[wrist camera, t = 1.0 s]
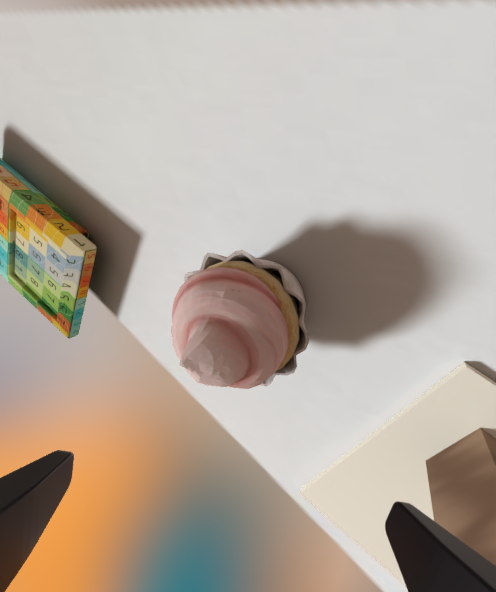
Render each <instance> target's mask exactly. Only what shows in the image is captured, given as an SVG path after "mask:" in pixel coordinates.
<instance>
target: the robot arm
mask: <svg viewBox="0 0 496 592" xmlns="http://www.w3.org/2000/svg"><path fill="white" fill-rule="evenodd" d="M73 460H74V455H73V453H72V452H67V451H61V450H57V451H54V452H52V453H50V454H48V455H46V456H44V457H42V458H40V459H38V460H36V461H34V462H32V463H30V464H28V465H26V466H24V467H22V468H20V469H18V470H16V471H14V472H12V473H9V474H7V475H6V476H3V477H2V478H0V592H5V590H6V589H7V587H8V586H9V585H10V583H11V582H12V580H13V579H14V577H15V576H16V574H17V573H18V571H19V570H20V569H21V567H22V566H23V564H24V563H25V561H26V560H27V558H28V556H29V555H30V553H31V552H32V550H33V548H34V547H35V545H36V543H37V542H38V540H39V538H40V536H41V535H42V533H43V531H44V529H45V528H46V526H47V524H48V522H49V521H50V518H51V517H52V515H53V514H54V512H55V510H56V508H57V507H58V505H59V503H60V501H61V500H62V498H63V496H64V494H65V493H66V491H67V489H68V487H69V484H70V482H71V478H72V470H73ZM385 530H386V534H387V537H388V540H389V542H390V545H391V548H392V550H393V553H394V556H395V558H396V561H397V563H398V566H399V569H400V571H401V574H402V576H403V579H404V582H405V584H406V587H407V589H408V592H496V566H495V565H494V564H492V563H491V562H490V561H488V560H487V559H486V558H484V557H483V556H481V555H480V554H479V553H477V552H476V551H475V550H473V549H472V548H470V547H469V546H468V545H466V544H465V543H464V542H462V541H461V540H460V539H458V538H457V537H455V536H454V535H453V534H451V533H450V532H449V531H447V530H446V529H444V528H443V527H442V526H440V525H439V524H438V523H436V522H435V521H434V520H432V519H431V518H429V517H428V516H427V515H425V514H424V513H423V512H421V511H420V510H418V509H417V508H416V507H414V506H413V505H411V504H410V503H406V502H400V501H396V502H395V503H394V504H393V506H392V508H391V510H390V512H389V515H388V517H387V519H386V522H385Z"/></svg>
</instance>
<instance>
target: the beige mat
mask: <svg viewBox="0 0 496 592" xmlns="http://www.w3.org/2000/svg"><path fill="white" fill-rule="evenodd" d="M479 428H482V429H483V430H484V431H486V432H487V433H489V434H490V435H492V436H493V437H494V438H496V382H494V381H493V380H491V379H490V378H488V377H487V376H485V375H484V374H482V373H481V372H479V371H478V370H476V369H475V368H473V367H472V366H470V365H469V364H467V363H466V362H463V363H462V364H461V365H459V366H458V367H457V368H455V369H454V370H453V371H452V372H450V373H449V374H448V375H446V376H445V377H444V378H443V379H441V380H440V381H439V382H437V383H436V384H435V385H433V386H432V387H431V388H430V389H428V390H427V391H426V392H424V393H423V394H422V395H421V396H419V397H418V398H417V399H415V400H414V401H413V402H412V403H410V404H409V405H408V406H406V407H405V408H404V409H402V410H401V411H400V412H399V413H397V414H396V415H395V416H393V417H392V418H391V419H390V420H388V421H387V422H386V423H384V424H383V425H382V426H380V427H379V428H378V429H377V430H375V431H374V432H373V433H371V434H370V435H369V436H368V437H366V438H365V439H364V440H362V441H361V442H360V443H359V444H357V445H356V446H355V447H353V448H352V449H351V450H349V451H348V452H347V453H346V454H344V455H343V456H342V457H340V458H339V459H338V460H337V461H335V462H334V463H333V464H331V465H330V466H329V467H327V468H326V469H325V470H324V471H322V472H321V473H320V474H318V475H317V476H316V477H315V478H313V479H312V480H311V481H309V482H308V483H307V484H305V485H304V486H303V487H302V488H301V490H300V493H299V494H300V495H302V496H303V497H304V498H305V499H306V500H307V501H308V502H310V503H311V504H312V505H313V506H314V507H315V508H316V509H318V510H319V511H320V512H321V513H322V514H323V515H324V516H326V517H327V518H328V519H329V520H330V521H331V522H333V523H334V524H335V525H336V526H337V527H338V528H339V529H341V530H342V531H343V532H344V533H345V534H346V535H347V536H349V537H350V538H351V539H352V540H353V541H354V542H355V543H357V544H358V545H359V546H360V547H361V548H362V549H364V550H365V551H366V552H367V553H368V554H369V555H370V556H372V557H373V558H374V559H375V560H376V561H377V562H378V563H380V564H381V565H382V566H383V567H384V568H385V569H386V570H388V571H389V572H390V573H391V574H392V575H393V576H395V577H396V578H397V579H398V580H399V581H400V582H401V583H403V584H404V585H405V586H406V584H405V582H404V579H403V576H402V574H401V571H400V569H399V566H398V563H397V561H396V558H395V556H394V553H393V550H392V548H391V545H390V542H389V540H388V537H387V534H386V530H385V522H386V519H387V517H388V515H389V512H390V510H391V508H392V506H393V504H394V503H395V502H396V501H400V502H406V503H410V504H411V505H413V506H414V507H416V508H417V509H418V510H420V511H421V512H423V513H424V514H425V515H427V516H428V517H429V518H431V519H432V520H434V517H433V510H432V503H431V496H430V489H429V482H428V475H427V468H426V460H427V459H429V458H431V457H432V456H434V455H436V454H437V453H439V452H441V451H442V450H444V449H446V448H447V447H449V446H451V445H452V444H454V443H455V442H457V441H459V440H460V439H462V438H464V437H465V436H467V435H469V434H470V433H472V432H474V431H475V430H477V429H479Z"/></svg>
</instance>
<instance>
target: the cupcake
mask: <svg viewBox="0 0 496 592" xmlns="http://www.w3.org/2000/svg"><path fill="white" fill-rule="evenodd" d="M305 311H306V303H305V296H304V293H303V290H302V287H301V285H300V283H299V281H298V280H297V278H296V277H295V276H294V275H293V274H292V273H291V272H290V271H289V270H288V269H287V268H285V267H284V266H282V265H281V264H279V263H277V262H274V261H270V260H263V259H256V258H254V257H253V256H251V255H250V254H248V253H247V252H245V251H243V250H240V251H235V252H234V253H233V254H231V255H230V256H229V257H224V256H221V255H217V254H213V253H207V254H206V255H205V257H204V260H203V263H202V266H201V269H200V270H199V271H193V272H188V273H187V274H185V283H184V284H183V285H182V286H181V287H180V289H179V291H178V293H177V295H176V297H175V299H174V303H173V310H172V330H171V333H172V339H173V346H174V349H175V352H176V354H177V356H178V358H179V359H180V365H181V366H182V367H184V368H185V369H186V370H187V371H188V373H189V374H190V375H191V376H192V378H193V379H194V380H195V381H197V382H198V383H201V384H205V385H212V386H220V387H227V386H229V387H234V388H241V389H249V388H252V387H255V386H258V385H262V386H268V385H269V384H271V382H272V381H273V379H274V377H275V376H276V375H289V374H292V373H294V372H295V369H296V367H297V364H296V355H297V354H299V353H301V352H302V351H304V350H305V349H306V347H307V345H308V343H309V341H308V333H307V330H306V327H305V324H304V314H305Z"/></svg>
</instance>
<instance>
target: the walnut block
mask: <svg viewBox="0 0 496 592" xmlns="http://www.w3.org/2000/svg"><path fill="white" fill-rule="evenodd" d="M426 468H427V475H428V482H429V489H430V496H431V503H432V510H433V517H434V521H435V522H436V523H438V524H439V525H440V526H442V527H443V528H444V529H446V530H447V531H449V532H450V533H451V534H453V535H454V536H455V537H457V538H458V539H460V540H461V541H462V542H464V543H465V544H466V545H468V546H469V547H470V548H472V549H473V550H475V551H476V552H477V553H479V554H480V555H481V556H483V557H484V558H486V559H487V560H488V561H490V562H491V563H492V564H494V565H495V566H496V438H494V437H493V436H492V435H490V434H489V433H487V432H486V431H484V430H483V429H482V428H479V429H477V430H475V431H474V432H472V433H470V434H469V435H467V436H465V437H464V438H462V439H460V440H459V441H457V442H455V443H454V444H452V445H451V446H449V447H447V448H446V449H444V450H442V451H441V452H439V453H437V454H436V455H434V456H432V457H431V458H429V459H427V460H426Z"/></svg>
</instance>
